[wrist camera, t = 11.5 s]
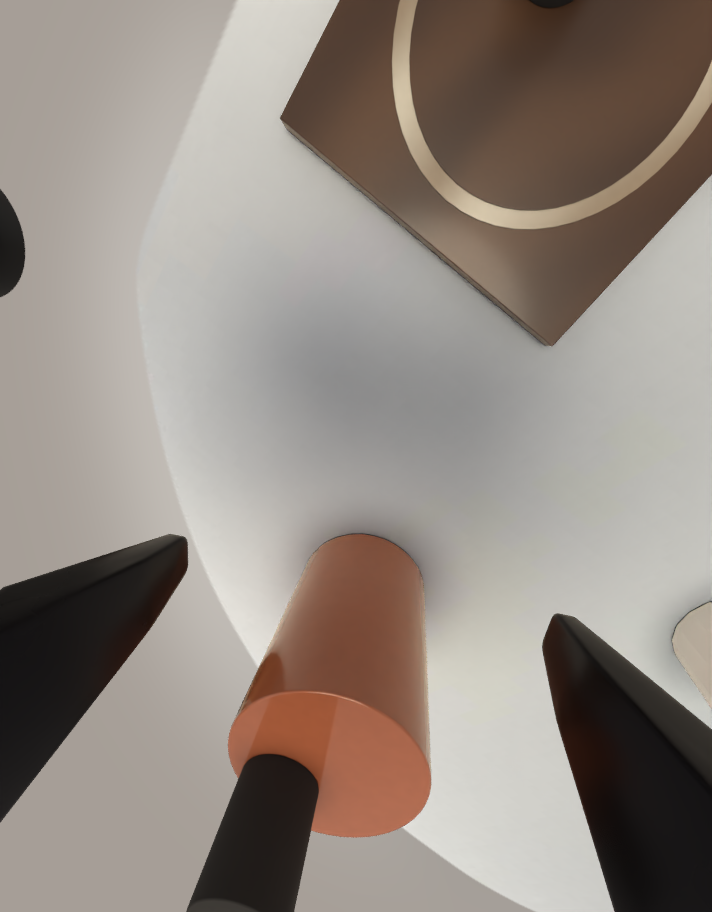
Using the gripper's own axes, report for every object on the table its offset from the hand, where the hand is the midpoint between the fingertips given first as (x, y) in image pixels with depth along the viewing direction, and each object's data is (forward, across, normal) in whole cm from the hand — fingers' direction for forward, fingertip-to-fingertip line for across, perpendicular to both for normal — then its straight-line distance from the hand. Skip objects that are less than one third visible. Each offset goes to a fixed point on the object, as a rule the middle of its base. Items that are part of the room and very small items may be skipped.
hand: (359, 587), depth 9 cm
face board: (+13, -4, -17) cm, 22 cm away
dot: (+2, +2, +12) cm, 12 cm away
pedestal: (+13, 0, +10) cm, 17 cm away
